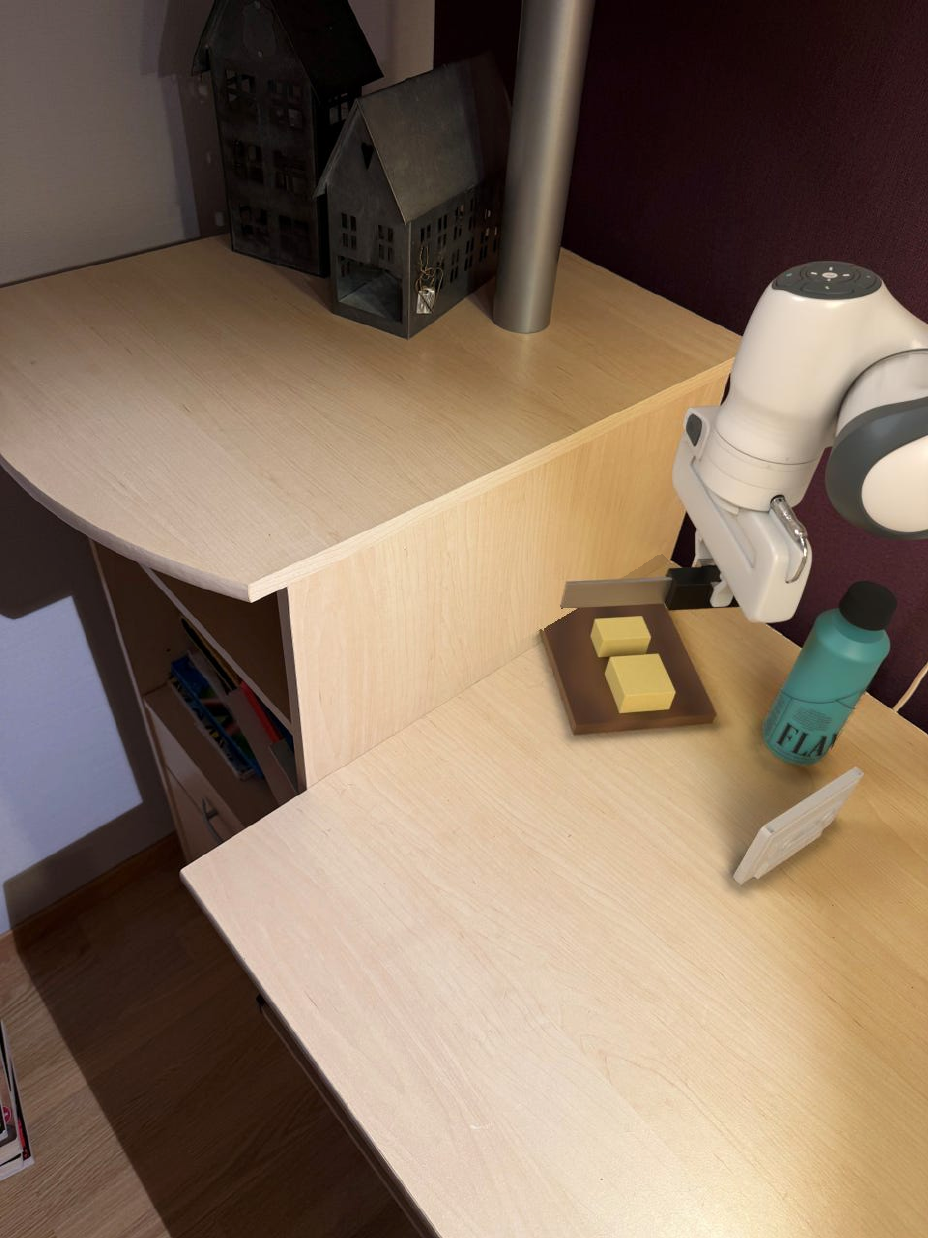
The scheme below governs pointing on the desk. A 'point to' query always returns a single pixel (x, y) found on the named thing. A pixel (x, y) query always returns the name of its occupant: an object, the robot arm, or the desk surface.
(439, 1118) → the desk surface
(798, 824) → the cassette
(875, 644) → the beverage bottle
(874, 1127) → the desk surface
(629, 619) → the butter pat
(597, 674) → the board
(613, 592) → the knife
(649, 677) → the butter stick
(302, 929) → the desk surface
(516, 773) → the desk surface
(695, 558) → the robot arm
